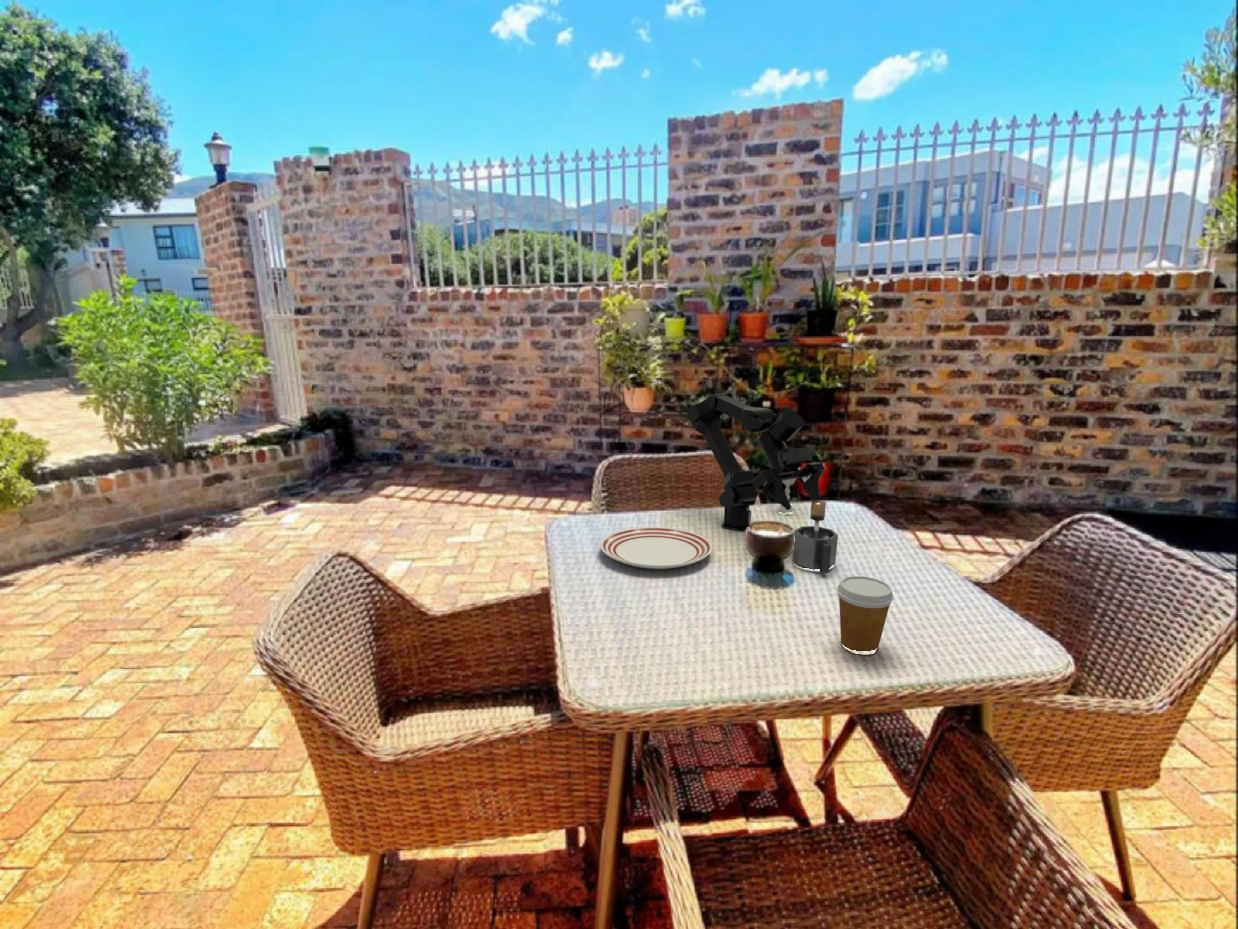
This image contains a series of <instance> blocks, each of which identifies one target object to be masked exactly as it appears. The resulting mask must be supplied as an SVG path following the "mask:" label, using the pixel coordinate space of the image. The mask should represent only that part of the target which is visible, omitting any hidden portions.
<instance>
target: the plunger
mask: <svg viewBox="0 0 1238 929" xmlns="http://www.w3.org/2000/svg"><path fill="white" fill-rule="evenodd" d="M810 504H811V505H810V516H809V519H810V520H812V521H814V525H813V526H814V537H813V538H814V539H818V531H819V527H820V522H821V521H824V520H825V519H826V518H825V516H826V505H827V503H826V501H824V500H821V499H820V500H811V503H810Z"/></svg>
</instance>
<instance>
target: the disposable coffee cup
mask: <svg viewBox="0 0 1238 929" xmlns="http://www.w3.org/2000/svg"><path fill="white" fill-rule="evenodd" d="M836 592H837V595H838V600H839V601H838V603H839V606H838V607H839V624H840V627H839V628H840V631H839V632H840V644H841V643H842V644H843V645H844V646H845V647H847V648H849V649H851V650H856V651H871V650H875V649H876V648H878V649H879V646H880V643H881V640H882V635H883V632H884V628H885V623H886V620H887V617H888V612H889V609H890V606H891V604H892V602H893V601H894V598H895V595H894V594H893V590H892V586H890V585H889V584H888V583H887V582H885V581H883V580H881V579H878V578H874V577H870V576H865V575H852V576H845V577H843V578H842V579H840V582H839V584H838V585H837V586H836Z"/></svg>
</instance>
